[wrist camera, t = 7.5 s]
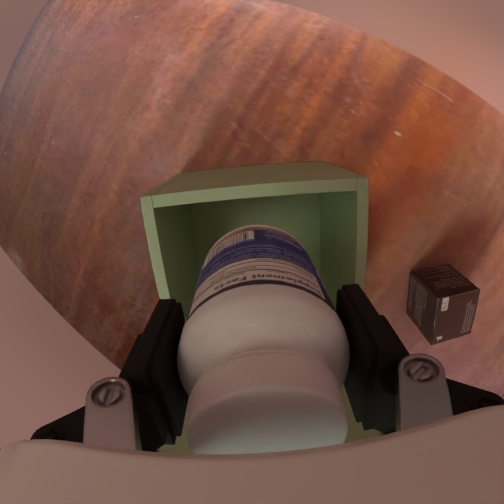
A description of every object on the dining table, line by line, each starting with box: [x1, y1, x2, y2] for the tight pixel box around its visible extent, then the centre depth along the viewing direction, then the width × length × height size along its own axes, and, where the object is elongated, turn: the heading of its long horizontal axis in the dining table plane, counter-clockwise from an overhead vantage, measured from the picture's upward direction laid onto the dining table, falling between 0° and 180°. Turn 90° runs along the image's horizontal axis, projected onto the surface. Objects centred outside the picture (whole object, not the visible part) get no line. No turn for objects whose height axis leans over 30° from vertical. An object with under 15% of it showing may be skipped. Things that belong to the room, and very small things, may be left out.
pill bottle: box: [177, 225, 350, 454], centre depth 11 cm, size 5×5×10 cm
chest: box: [140, 161, 369, 321], centre depth 27 cm, size 16×14×12 cm
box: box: [406, 264, 480, 345], centre depth 32 cm, size 6×6×7 cm
